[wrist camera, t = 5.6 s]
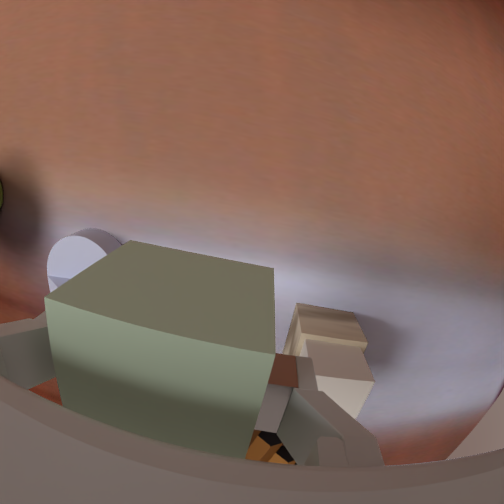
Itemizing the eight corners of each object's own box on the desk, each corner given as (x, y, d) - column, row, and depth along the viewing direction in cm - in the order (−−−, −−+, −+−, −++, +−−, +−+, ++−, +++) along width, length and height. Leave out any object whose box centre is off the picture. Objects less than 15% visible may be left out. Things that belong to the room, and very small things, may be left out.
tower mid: (305, 338, 26) (311, 374, 21) (360, 346, 26) (375, 381, 21) (289, 383, 27) (292, 422, 22) (341, 390, 27) (350, 427, 22)
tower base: (296, 302, 31) (301, 332, 26) (352, 312, 31) (368, 342, 26) (282, 352, 33) (284, 387, 27) (335, 360, 33) (345, 394, 27)
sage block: (130, 240, 11) (44, 297, 6) (273, 268, 11) (275, 354, 6) (127, 357, 12) (73, 441, 7) (246, 384, 12) (235, 487, 7)
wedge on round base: (139, 343, 34) (130, 230, 30) (116, 378, 27) (98, 248, 24) (74, 331, 34) (60, 226, 31) (46, 359, 28) (22, 241, 24)
